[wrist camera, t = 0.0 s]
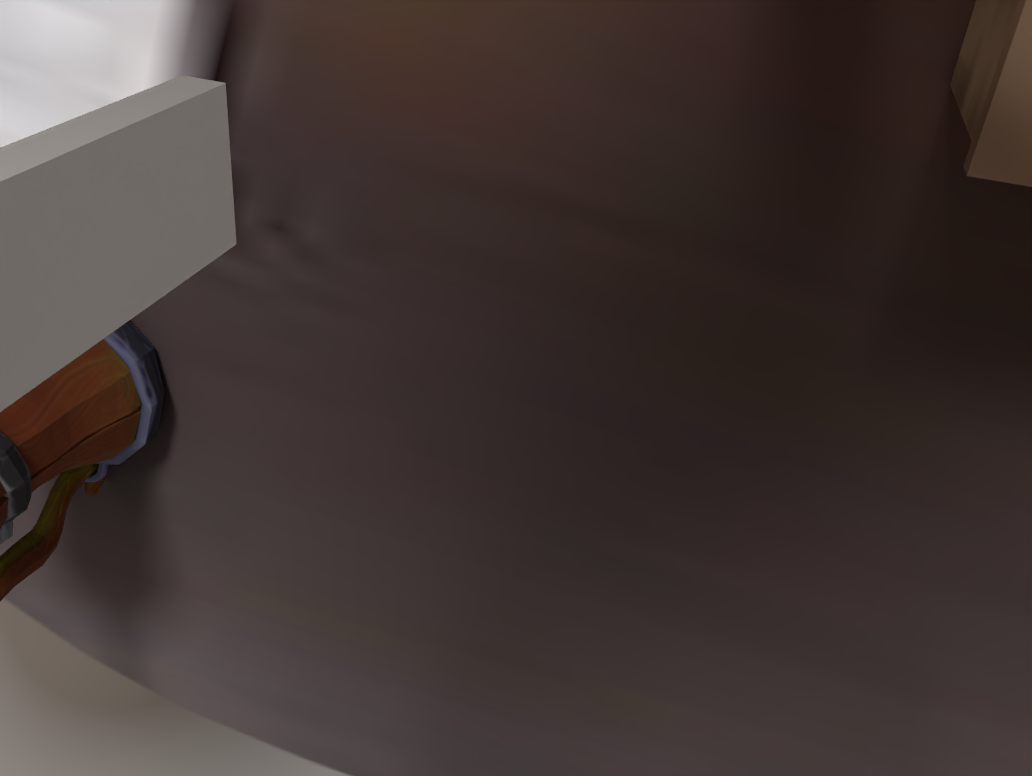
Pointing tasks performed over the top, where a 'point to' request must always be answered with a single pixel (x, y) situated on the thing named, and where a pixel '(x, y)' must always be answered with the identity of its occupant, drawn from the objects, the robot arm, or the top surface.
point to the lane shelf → (997, 91)
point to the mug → (73, 438)
